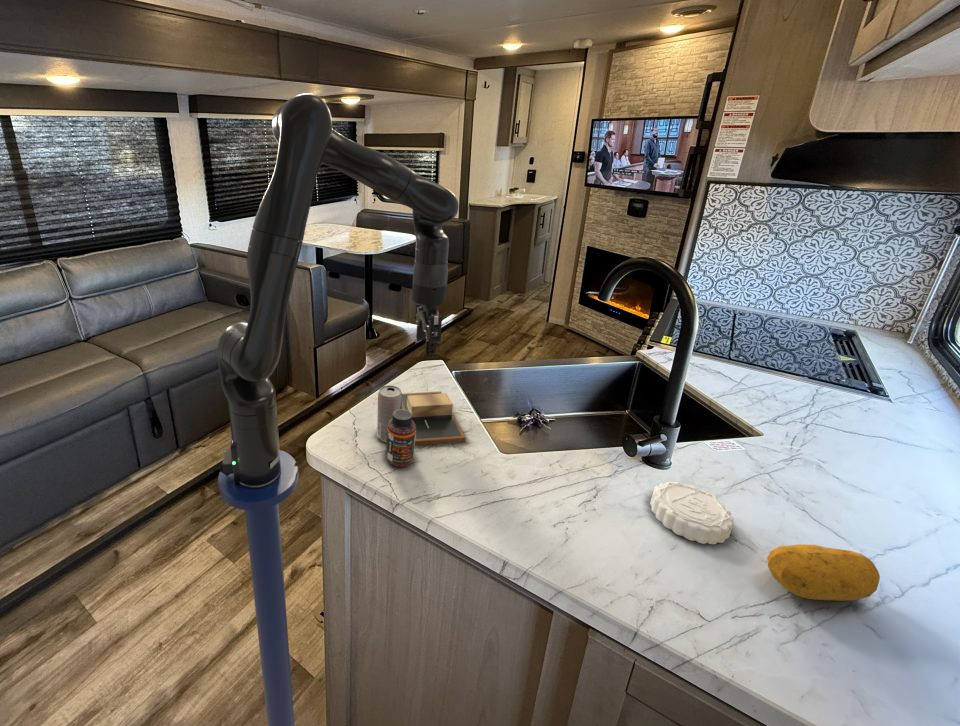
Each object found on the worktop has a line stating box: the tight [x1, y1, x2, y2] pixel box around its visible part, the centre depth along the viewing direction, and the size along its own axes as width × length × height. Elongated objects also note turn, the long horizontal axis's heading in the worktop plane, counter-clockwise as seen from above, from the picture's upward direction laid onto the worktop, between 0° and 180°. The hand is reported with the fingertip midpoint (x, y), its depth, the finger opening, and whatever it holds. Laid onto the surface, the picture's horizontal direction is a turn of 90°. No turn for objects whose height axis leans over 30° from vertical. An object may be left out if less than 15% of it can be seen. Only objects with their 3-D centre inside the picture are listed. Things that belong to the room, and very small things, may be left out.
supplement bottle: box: [385, 409, 416, 468], centre depth 96 cm, size 6×6×11 cm
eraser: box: [407, 392, 454, 421], centre depth 111 cm, size 10×5×4 cm, turn 97°
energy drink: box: [376, 384, 403, 444], centre depth 104 cm, size 5×5×12 cm
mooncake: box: [649, 481, 735, 545], centre depth 83 cm, size 12×12×4 cm
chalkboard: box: [402, 390, 467, 447], centre depth 112 cm, size 12×20×1 cm, turn 7°
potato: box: [766, 544, 881, 602], centre depth 69 cm, size 7×14×7 cm, turn 85°
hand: (425, 347), depth 106 cm, fingers open, 8 cm apart
